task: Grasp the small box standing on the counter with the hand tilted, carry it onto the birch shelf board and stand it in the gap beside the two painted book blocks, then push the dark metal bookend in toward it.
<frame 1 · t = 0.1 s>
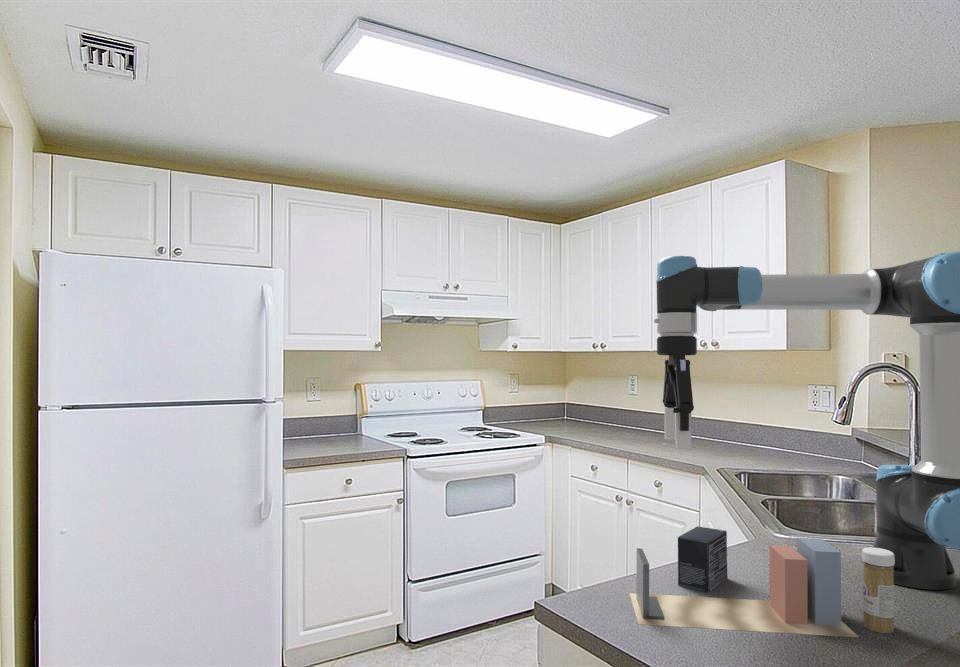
hand: (677, 443, 127), 28 cm above the counter, tool pointing down, fingers open, 13 cm apart
book b: (787, 614, 111), point 1 cm above the counter, touching shelf board
small box: (702, 588, 127), on the counter
shelf board: (734, 619, 111), on the counter
sprinkles bottle: (878, 634, 106), on the counter
book a: (818, 615, 111), point 1 cm above the counter, touching shelf board
bookend: (642, 608, 113), point 1 cm above the counter, touching shelf board
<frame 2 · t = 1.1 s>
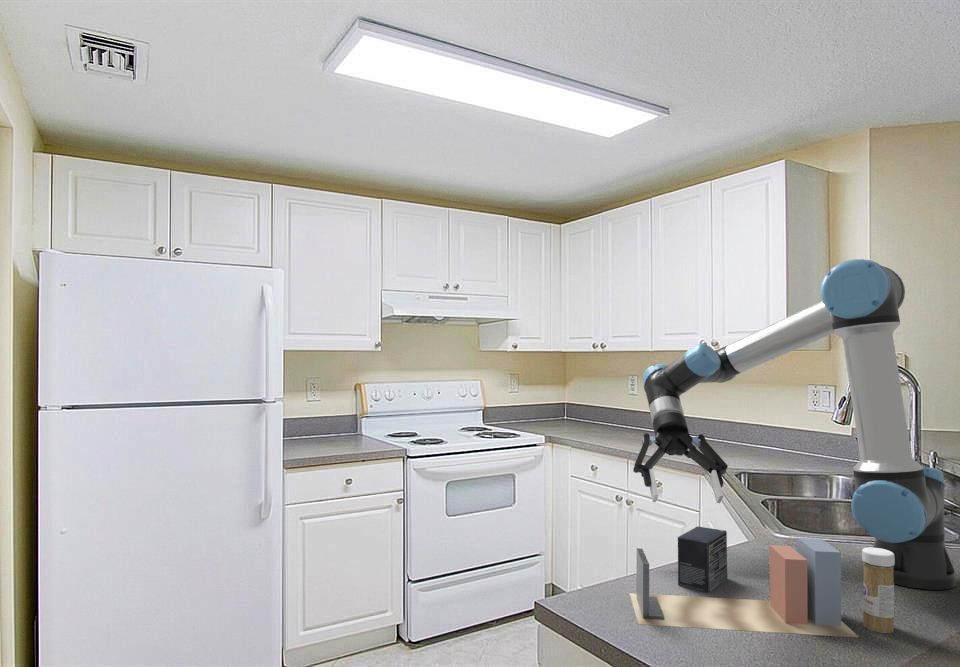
hand: (687, 499, 137), 15 cm above the counter, tool tilted 45°, fingers open, 13 cm apart
nothing on the counter moved.
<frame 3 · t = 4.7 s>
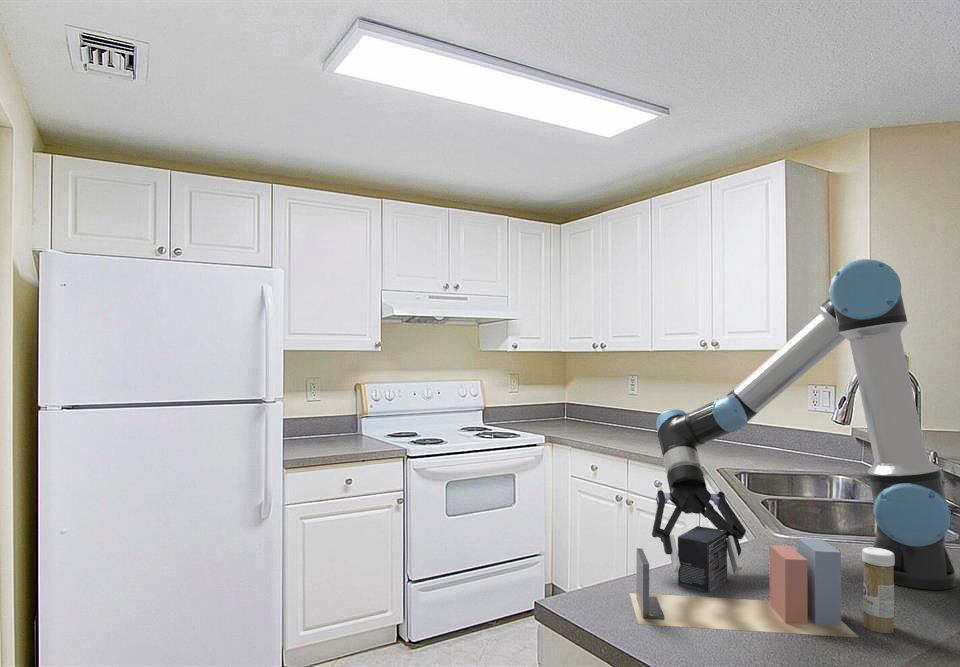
hand: (707, 569, 124), 4 cm above the counter, tool tilted 45°, fingers closed on small box, 11 cm apart
small box: (702, 587, 127), on the counter, touching gripper
everything else where it was.
when the fingers open (7 cm above the counter, at t = 10.3 s): small box drops 1 cm, resting on shelf board.
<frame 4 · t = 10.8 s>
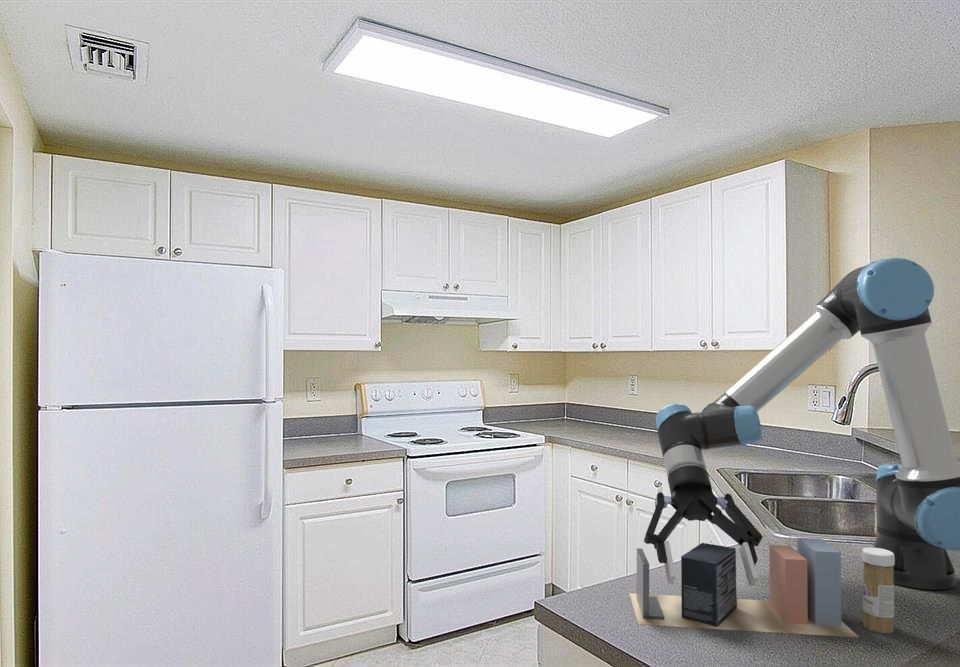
hand: (712, 581, 109), 7 cm above the counter, tool tilted 45°, fingers open, 13 cm apart
small box: (709, 613, 111), point 1 cm above the counter, touching shelf board
everything else where it was.
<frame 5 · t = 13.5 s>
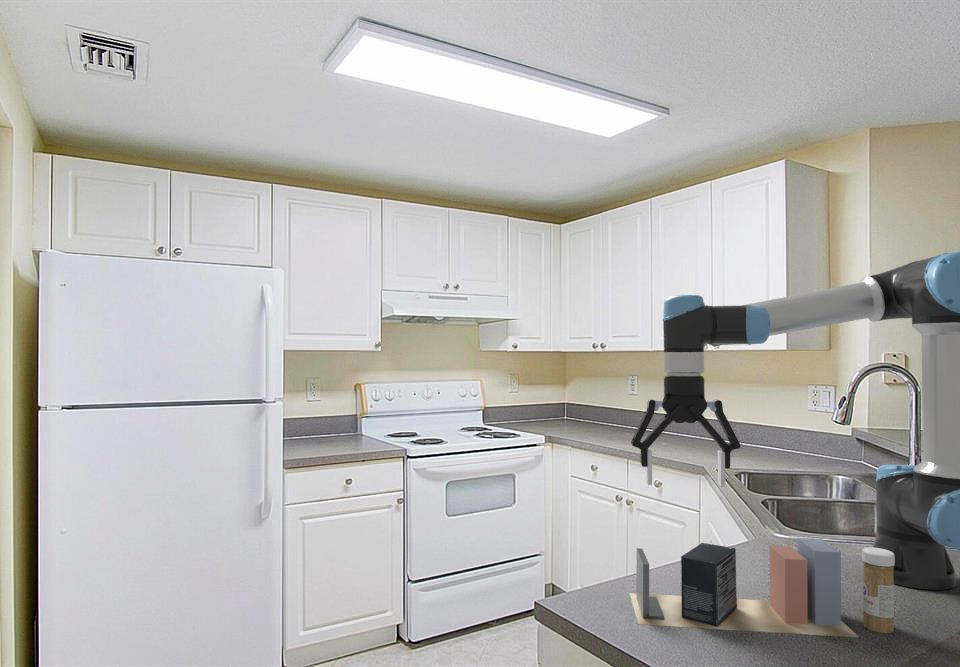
hand: (685, 484, 126), 20 cm above the counter, tool pointing down, fingers open, 13 cm apart
nothing on the counter moved.
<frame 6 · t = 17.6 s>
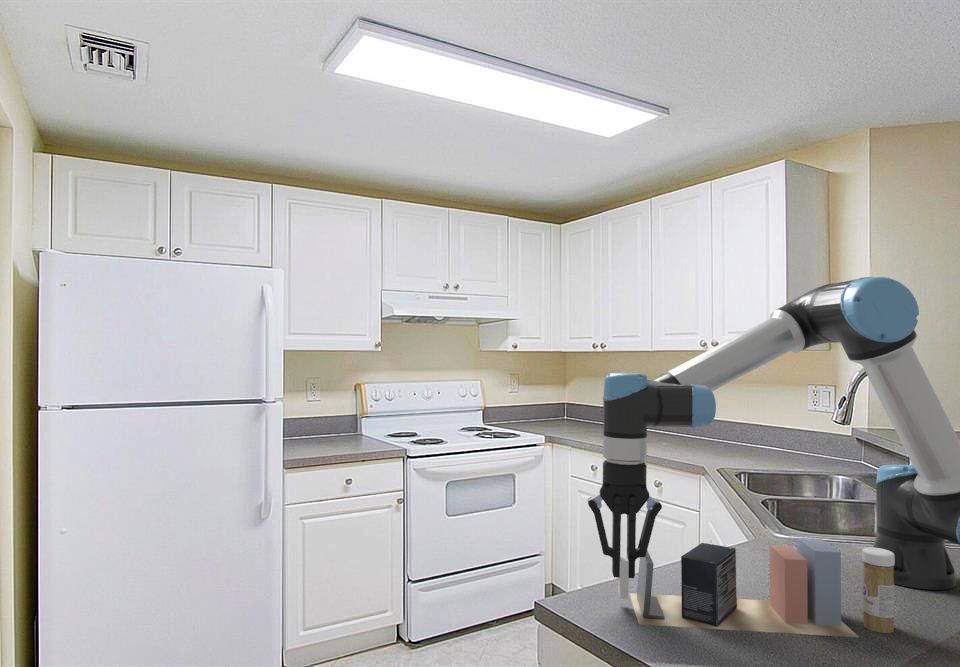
hand: (623, 595, 114), 3 cm above the counter, tool pointing down, fingers closed
bookend: (642, 606, 113), point 1 cm above the counter, touching gripper, shelf board
everything else where it was.
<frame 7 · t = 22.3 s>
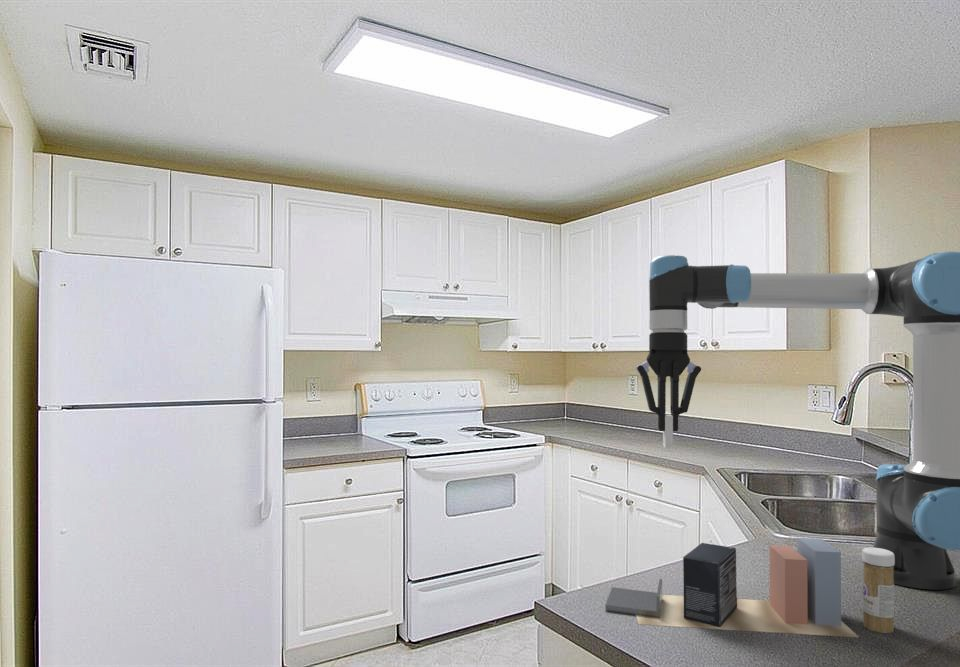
hand: (667, 447, 132), 26 cm above the counter, tool pointing down, fingers closed
bookend: (661, 605, 113), point 1 cm above the counter, tilted 90°, touching shelf board
everything else where it was.
at the end: small box inside the target area (0.3 cm from its centre), point 0.8 cm above the counter; small box tilted 0°; bookend inside the target area (1.3 cm from its centre), point 1.5 cm above the counter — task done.
